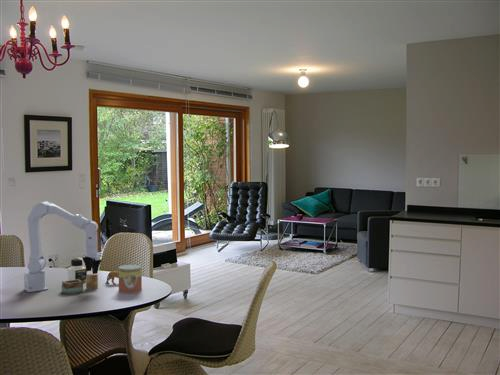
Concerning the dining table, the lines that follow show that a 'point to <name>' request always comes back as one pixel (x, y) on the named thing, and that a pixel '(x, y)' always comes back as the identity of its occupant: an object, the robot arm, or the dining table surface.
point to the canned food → (130, 279)
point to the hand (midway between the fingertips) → (91, 272)
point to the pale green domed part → (72, 290)
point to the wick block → (91, 281)
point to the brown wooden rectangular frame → (72, 283)
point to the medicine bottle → (77, 270)
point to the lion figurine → (112, 276)
